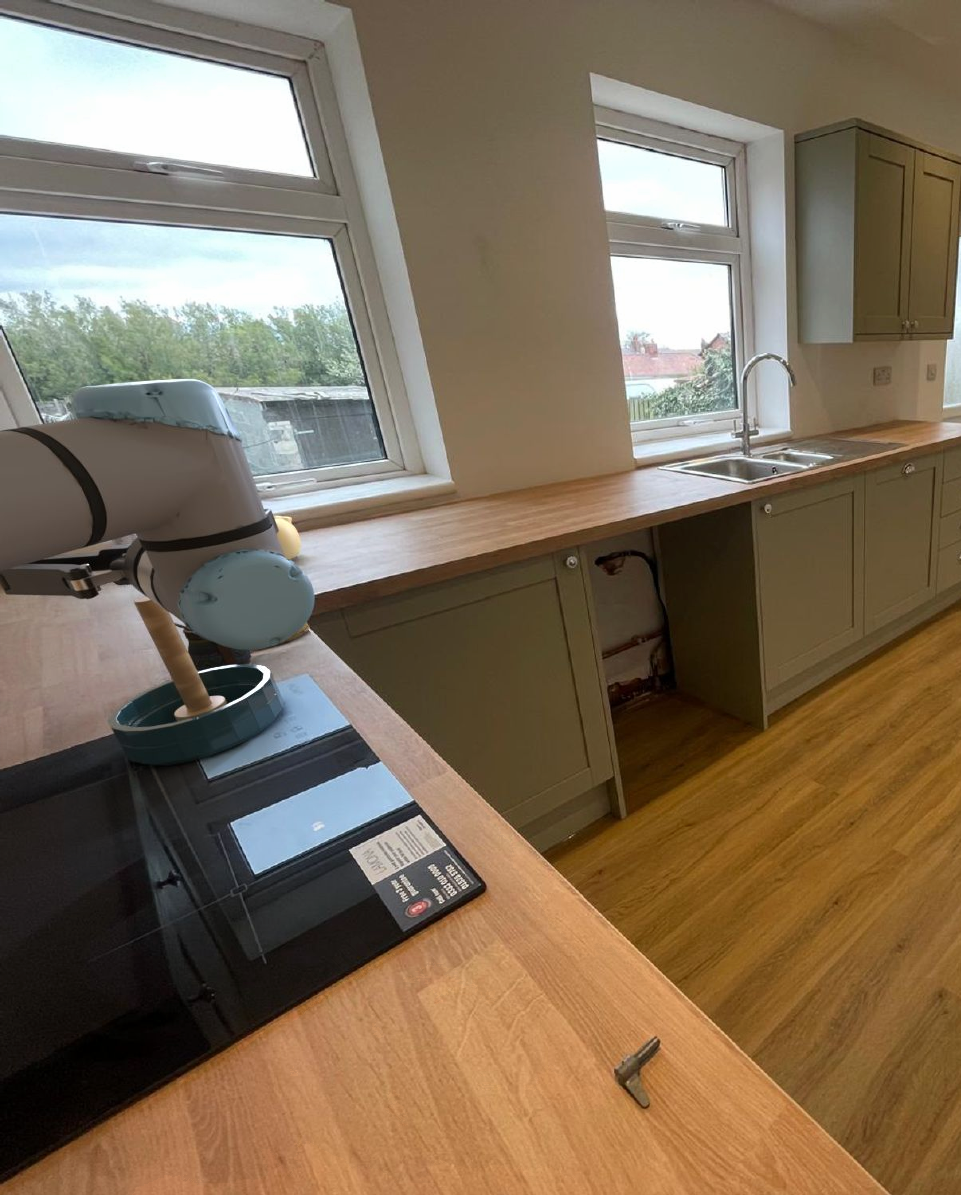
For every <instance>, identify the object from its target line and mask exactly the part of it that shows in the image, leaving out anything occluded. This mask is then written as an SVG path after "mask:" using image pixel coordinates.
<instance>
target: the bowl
mask: <svg viewBox="0 0 961 1195" xmlns="http://www.w3.org/2000/svg"><path fill="white" fill-rule="evenodd" d="M197 672H198V671H197ZM198 674H199V676H200V678H201V680H202V682H203V684H204V687H205V689H206V691H207V693H208V695H209V696H223V697H224V698H225V700H226V702H227V705H225V706H223V707H221V708H218V709H215V710H213V711H210V712H207V713H205V714H202V715H199V716H197V717H193V718H189V719H186V720H182V721H178V722H177V720H176V718H175V716H174V713H175V711H176V710H177V709H179V708H180V707H182V706H183V705H185V704H184V702H183V700H182V698H181V696H180V694H179V692H178V690H177V688H176V686H175V684H174V682H173V680H172V679H170V680H167V681H164V682H162V683H159V684H158V685H155V686H153V687H151V688H148V689H146V690H144V691H142V692H140V693H139V694H136V695H135V696H133V697H131V698H130V699H127V700H126V701H125V702H123V703H122V704H121V705H120V706H118V707H117V708H116V709H115V710H113V711H111V714H110V716H109V718H108V719H107V724H108V726H109V727H110V729H111V731H112V732H113V734H114V736H115V738H116V739H117V741H118V743H119V746H121V748H122V751H123V752H124V754H125V756H126V757H127V759H128V760H129V761H130V762H134V763H137V764H141V765H149V766H172V765H179V764H184V763H189V762H193V761H197V760H200V759H204V758H207V757H210V756H214V755H216V754H220V753H222V752H225V751H227V750H229V749H232V748H234V747H236V746H238V745H240V744H243V743H244V742H246V741H248V740H250V739H252V738H253V737H255V736H257V735H258V734H260V733H261V732H262V731H264V730H265V729H266V728H268V727H269V726H270V725H271V724H273V723H274V722H275V720H276V719H277V717H278V715H279V713H280V712H281V711H282V710H283V708H284V706H283V705H284V699H283V696H282V694H281V692H280V690H279V687H278V685H277V683H276V680H275V678H274V675H273V674H272V671H271V669H269V668H267V667H266V666H265V665H260V664H255V663H248V664H239V665H229V666H223V667H216V668H211V669H207V670H203V671H199V672H198Z"/></svg>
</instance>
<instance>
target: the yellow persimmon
mask: <svg viewBox="0 0 961 1195" xmlns="http://www.w3.org/2000/svg"><path fill="white" fill-rule="evenodd" d="M273 516H274V518H275V521H276V524H277V527H278V529H279V531H278V533H277V537H278V539H279V542H280V545H281V547H282V550H283V552H284V555H285V557H286V558H287V559H289V560H291V561H292V560H293V559H295V558H296V557H298V556H299V554H300V553H301V550H302V542H301V537H300V534H299V532H298V529H297V528H296V527H295V526H294V525H293V524H292V522H293V518H292V517H291V516H282V515H273Z"/></svg>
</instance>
